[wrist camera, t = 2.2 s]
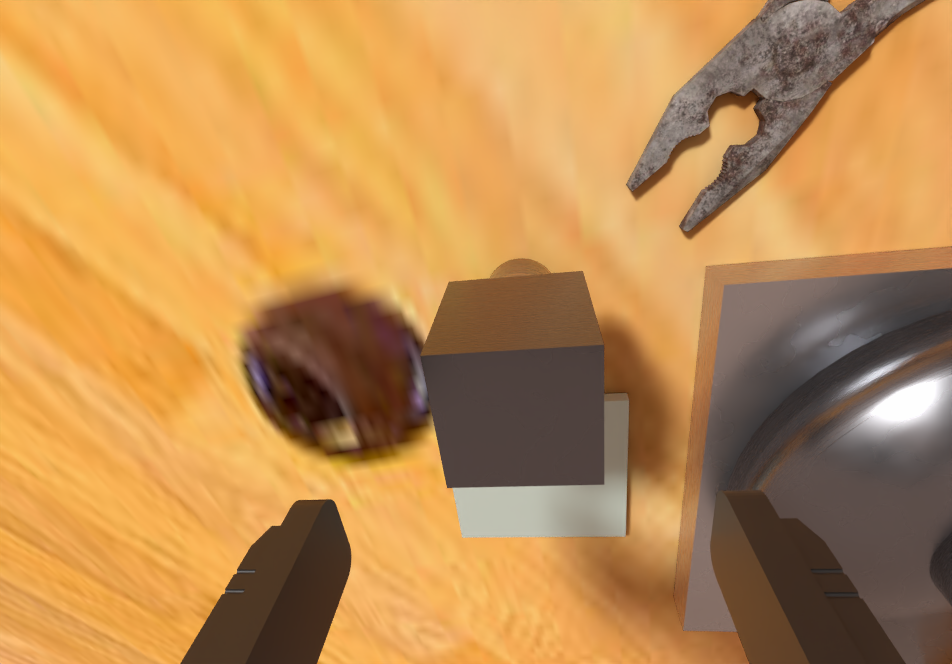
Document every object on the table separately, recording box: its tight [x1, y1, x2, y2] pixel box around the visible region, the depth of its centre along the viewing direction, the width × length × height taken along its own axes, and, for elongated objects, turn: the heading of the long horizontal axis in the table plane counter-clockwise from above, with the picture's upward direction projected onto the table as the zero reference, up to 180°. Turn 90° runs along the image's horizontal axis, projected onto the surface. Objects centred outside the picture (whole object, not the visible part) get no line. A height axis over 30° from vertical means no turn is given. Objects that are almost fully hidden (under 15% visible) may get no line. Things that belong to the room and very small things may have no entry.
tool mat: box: [453, 393, 629, 537], centre depth 25 cm, size 9×9×1 cm
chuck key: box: [420, 259, 604, 488], centre depth 17 cm, size 4×4×9 cm
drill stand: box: [674, 247, 952, 632], centre depth 22 cm, size 21×21×2 cm
